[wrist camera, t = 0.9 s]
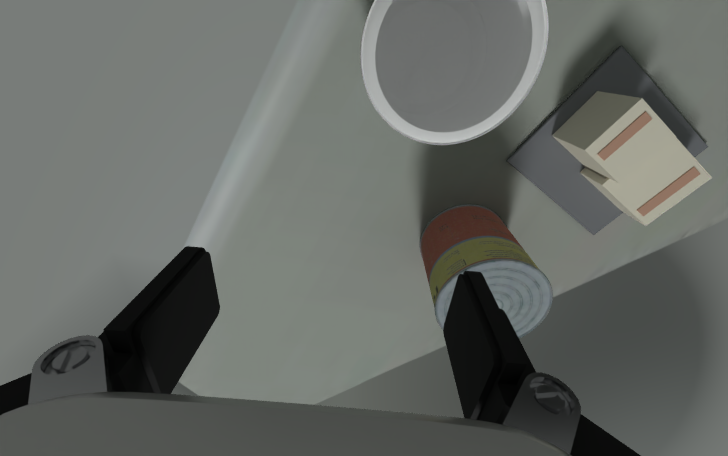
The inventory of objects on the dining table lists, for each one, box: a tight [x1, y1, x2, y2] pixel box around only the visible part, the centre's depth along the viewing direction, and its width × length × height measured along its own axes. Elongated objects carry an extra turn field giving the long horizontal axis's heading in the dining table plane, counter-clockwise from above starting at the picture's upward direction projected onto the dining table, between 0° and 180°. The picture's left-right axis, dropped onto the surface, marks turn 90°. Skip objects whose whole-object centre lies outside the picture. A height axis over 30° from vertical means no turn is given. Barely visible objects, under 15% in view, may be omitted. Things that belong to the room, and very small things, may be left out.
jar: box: [360, 0, 548, 145], centre depth 24 cm, size 11×10×15 cm
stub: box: [552, 91, 676, 184], centre depth 31 cm, size 6×5×6 cm
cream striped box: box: [580, 138, 712, 226], centre depth 33 cm, size 7×8×4 cm
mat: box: [507, 46, 708, 235], centre depth 35 cm, size 14×16×1 cm
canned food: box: [420, 205, 553, 338], centre depth 36 cm, size 11×11×12 cm
